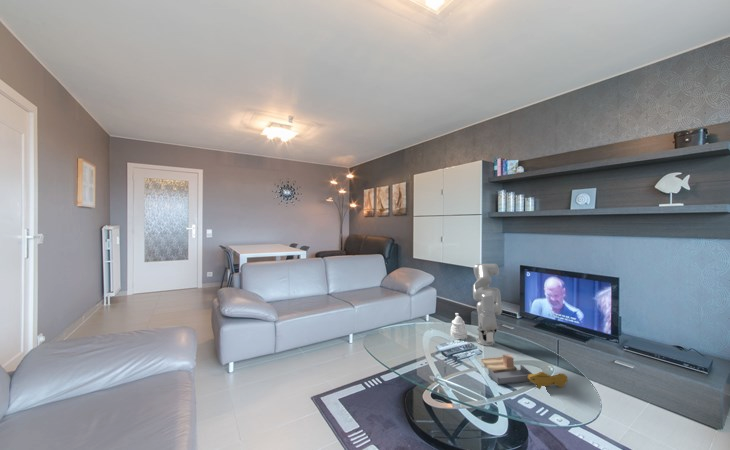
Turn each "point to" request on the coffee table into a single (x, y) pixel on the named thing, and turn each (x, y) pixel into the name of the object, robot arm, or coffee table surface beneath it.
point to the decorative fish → (547, 379)
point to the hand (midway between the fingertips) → (488, 339)
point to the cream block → (489, 336)
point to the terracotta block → (508, 361)
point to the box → (510, 376)
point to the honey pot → (458, 328)
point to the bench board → (496, 364)
